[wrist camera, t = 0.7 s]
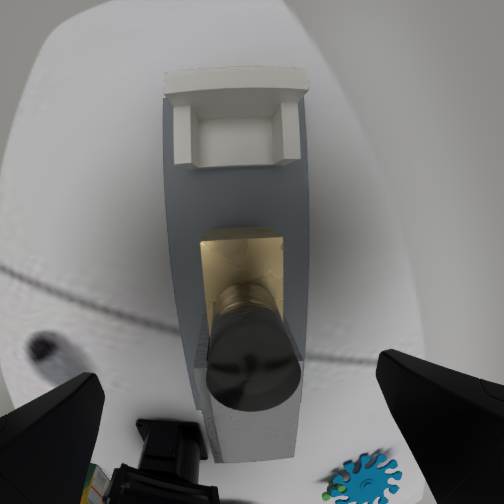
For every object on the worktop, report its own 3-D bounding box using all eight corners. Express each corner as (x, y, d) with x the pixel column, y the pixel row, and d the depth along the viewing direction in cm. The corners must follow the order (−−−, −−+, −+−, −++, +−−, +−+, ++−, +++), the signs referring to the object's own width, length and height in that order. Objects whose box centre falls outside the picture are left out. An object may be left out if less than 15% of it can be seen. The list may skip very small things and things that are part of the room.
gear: (402, 445, 24) (403, 503, 19) (389, 440, 29) (392, 492, 24) (320, 466, 26) (324, 523, 20) (317, 456, 31) (321, 509, 25)
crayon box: (80, 459, 24) (58, 517, 12) (97, 464, 24) (77, 525, 13) (99, 483, 25) (84, 535, 14) (115, 487, 26) (102, 541, 14)
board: (298, 395, 22) (300, 402, 21) (197, 402, 21) (196, 410, 20) (299, 97, 16) (303, 93, 15) (166, 102, 16) (163, 98, 15)
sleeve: (280, 401, 21) (293, 457, 15) (216, 406, 20) (215, 463, 14) (282, 309, 19) (303, 360, 13) (203, 313, 18) (193, 368, 12)
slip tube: (272, 408, 19) (291, 499, 10) (226, 411, 19) (228, 505, 10) (270, 225, 16) (317, 270, 7) (207, 229, 15) (180, 278, 7)
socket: (282, 165, 16) (313, 154, 10) (188, 170, 16) (163, 160, 10) (280, 108, 16) (307, 69, 9) (187, 112, 15) (164, 73, 9)
